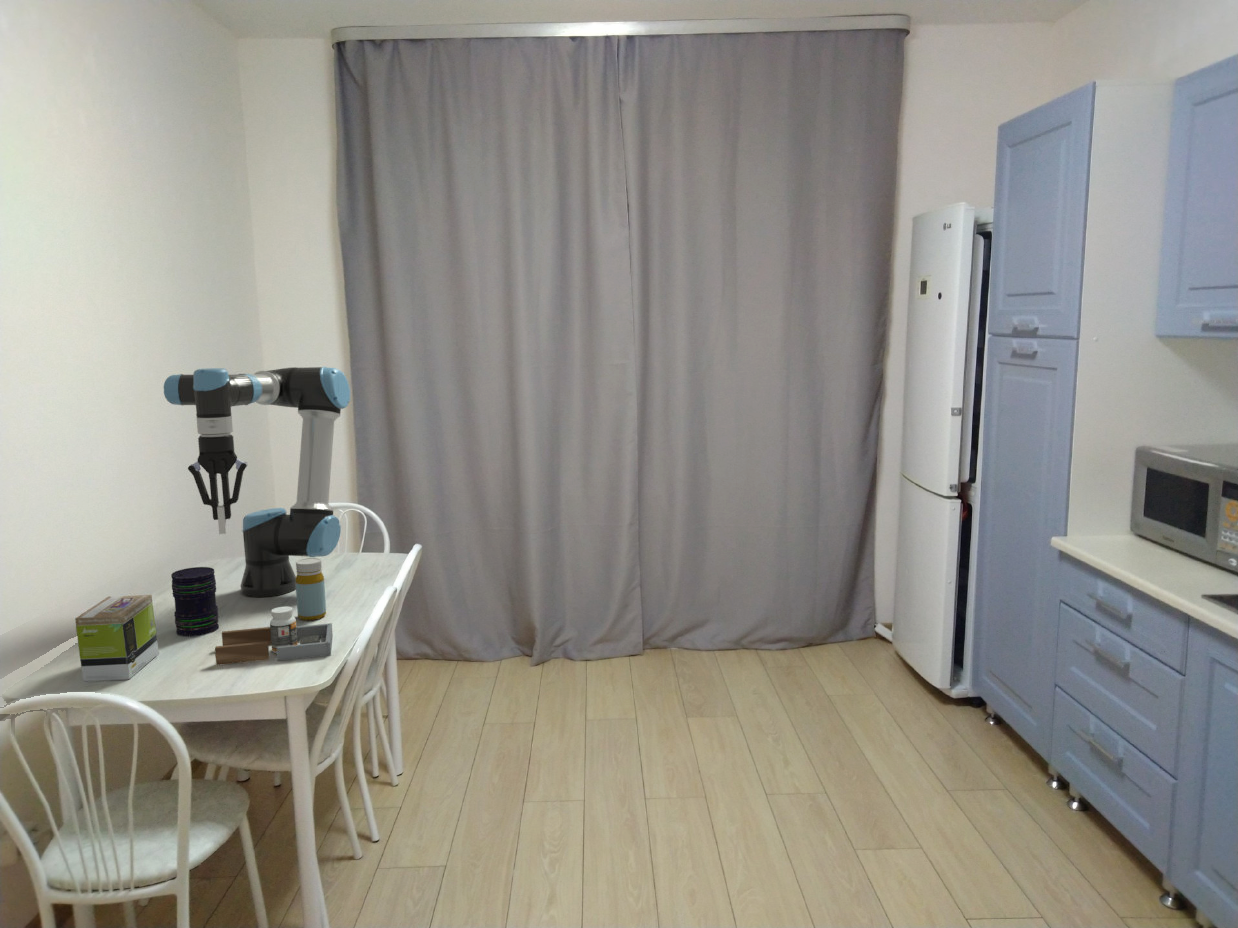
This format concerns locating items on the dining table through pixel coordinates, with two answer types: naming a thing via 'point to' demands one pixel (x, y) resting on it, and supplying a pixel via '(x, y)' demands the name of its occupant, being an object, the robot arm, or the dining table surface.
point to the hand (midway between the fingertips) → (223, 532)
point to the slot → (243, 646)
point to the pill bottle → (283, 628)
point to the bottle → (310, 589)
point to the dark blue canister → (195, 601)
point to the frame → (309, 648)
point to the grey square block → (310, 639)
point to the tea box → (116, 638)
